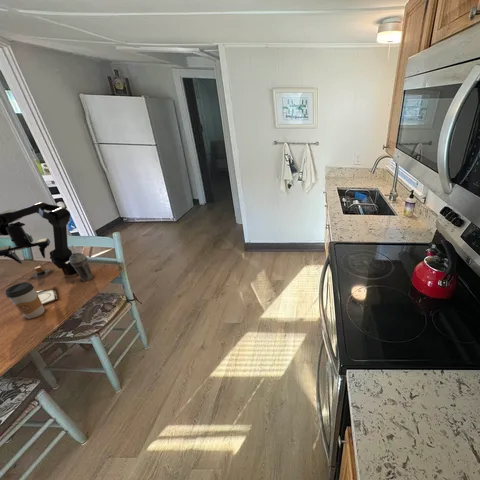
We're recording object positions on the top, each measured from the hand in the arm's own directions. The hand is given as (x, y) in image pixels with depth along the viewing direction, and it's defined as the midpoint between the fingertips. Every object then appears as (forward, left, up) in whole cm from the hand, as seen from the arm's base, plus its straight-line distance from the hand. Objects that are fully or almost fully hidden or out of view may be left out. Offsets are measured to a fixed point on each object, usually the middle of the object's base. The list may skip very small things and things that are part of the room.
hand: (33, 260), depth 144 cm
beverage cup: (-26, +13, -10) cm, 31 cm away
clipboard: (-11, +26, -9) cm, 30 cm away
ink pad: (0, 0, -9) cm, 9 cm away
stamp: (0, 0, -8) cm, 8 cm away
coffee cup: (-15, +38, -10) cm, 42 cm away
